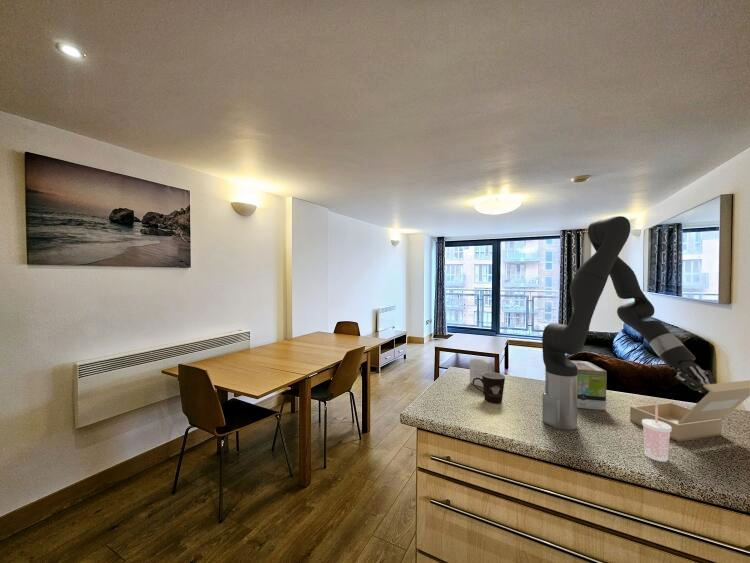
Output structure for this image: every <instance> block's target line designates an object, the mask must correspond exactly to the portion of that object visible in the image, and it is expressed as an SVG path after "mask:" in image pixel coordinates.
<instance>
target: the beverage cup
mask: <svg viewBox="0 0 750 563" xmlns="http://www.w3.org/2000/svg"><path fill="white" fill-rule="evenodd" d="M642 425H643V426H642V427H643V428H642V429H643V430H642V431H643V432H642V433H643V444H644V445H643V446H644V455H645V456H647V457H648V458H649V459H651V460H654V461H658V462H667V461H668V459H669V458H668V457H669V448H670V432H671V431H672V430H671V429H672V427H671V426H670V425H668V424H666V423H664V422H661V421H658V406H657V405H655V420H652V419H643V420H642Z"/></svg>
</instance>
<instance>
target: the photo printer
mask: <svg viewBox="0 0 750 563" xmlns="http://www.w3.org/2000/svg"><path fill="white" fill-rule="evenodd" d="M485 372H493V363H492V362H490V361H489V360H487V359H486V358H483V357H472V358H470V360H469V384H472V385H473V383H472V382H473V379H475V378H480V379H482V374H483V373H485ZM474 385H475V386H477V387H481V388H483V383H482V382H481V380H479V379H476V380H475V381H474Z"/></svg>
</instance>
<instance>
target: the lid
mask: <svg viewBox="0 0 750 563" xmlns="http://www.w3.org/2000/svg"><path fill="white" fill-rule="evenodd" d="M703 387H705V388H706V389H707V390H708V391H710V392H709V393H708V394H707V395H706V396H705V395H704V396H703V397H702V398H701V400H699V401H698V402H697V403H696V404H695V405H694V406H693V407H692V408H690V409H691V410H690V411H689V412H688V413H687V414H686V415H685V416H684V417H683V418H681V419H680V420H679V421H678V423H679V424H684V423H692V422H699V421H706V420H714V419H725V418H726V417H727V416H728V415H730V413H732V412H733V411H734V410H736V409H737V407H739V406H740V405H741V404H742V403H744V401H746V400H747V399H749V397H750V379H749V380H739V381H731V382H721V383H720V382H719V383H718V382H717V383H715V384H708V385H704V386H703Z"/></svg>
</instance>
